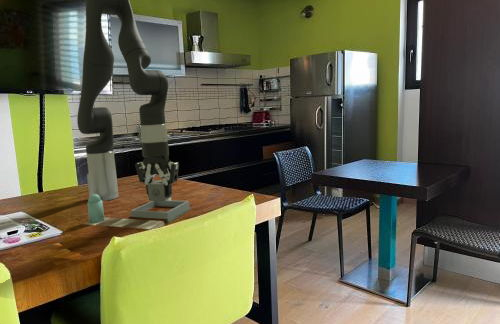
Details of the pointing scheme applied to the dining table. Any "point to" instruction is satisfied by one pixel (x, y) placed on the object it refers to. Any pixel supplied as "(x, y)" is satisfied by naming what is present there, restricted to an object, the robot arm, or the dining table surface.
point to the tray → (171, 215)
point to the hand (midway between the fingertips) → (159, 196)
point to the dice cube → (157, 191)
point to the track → (121, 222)
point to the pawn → (95, 209)
